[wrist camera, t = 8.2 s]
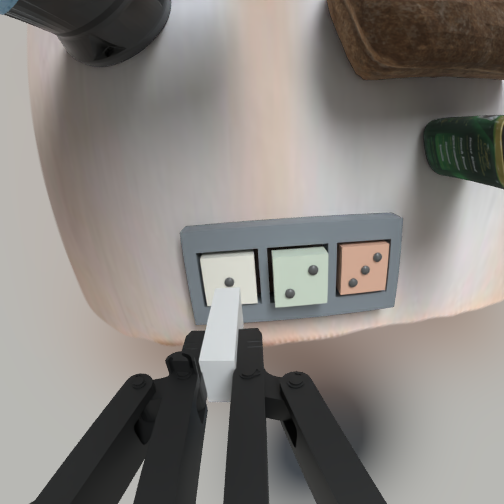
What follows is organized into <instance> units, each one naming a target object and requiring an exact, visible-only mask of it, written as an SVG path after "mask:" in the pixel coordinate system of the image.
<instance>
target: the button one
mask: <svg viewBox="0 0 504 504" xmlns="http://www.w3.org/2000/svg"><path fill="white" fill-rule="evenodd" d="M200 262H201V269H202V276H203V282H204V289H205V295H206V301H207V306H211V304H212V300H213V296H214V292H215V288H236V287H240V293H241V303H242V304H252V303H258V299H257V283H256V271H255V258H254V249H244V250H231V251H217V252H204V253H203V254H202V256H201V258H200Z"/></svg>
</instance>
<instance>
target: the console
mask: <svg viewBox="0 0 504 504" xmlns="http://www.w3.org/2000/svg"><path fill="white" fill-rule="evenodd" d="M402 226H403V218H402V217H400V216H398V215H396V214H394V213H373V214H351V215H332V216H315V217H298V218H283V219H269V220H255V221H242V222H230V223H218V224H206V225H195V226H186V227H185V228H184V229H183V230H182V231H181V232H180V237H181V244H182V250H183V256H184V263H185V269H186V274H187V280H188V286H189V291H190V297H191V302H192V307H193V313H194V318H195V323H196V325H204V324H207V322H208V317H209V313H210V309H211V306H207V301H206V295H205V289H204V282H203V276H202V269H201V262H200V258H201V256H202V254H201V253H204V252H217V251H231V250H244V249H258V258H259V271H260V284H261V293H257V299H258V303H252V304H242V314H243V323H246V322H261V321H275V320H287V319H299V318H309V317H319V316H329V315H337V314H346V313H354V312H362V311H369V310H376V309H383V308H390V307H394V304H395V297H396V290H397V282H398V274H399V264H400V254H401V242H402ZM382 239H383V240H385V241H386V242H387V243H389V254H388V266H387V276H386V286H385V290H379V291H371V292H362V293H354V294H345V295H340V293H339V291H338V290H337V288H336V265H337V243H340V242H354V241H368V240H382ZM312 244H323V247H324V248H325V250H326V251H327V252H328V296H327V303H322V304H312V305H301V306H289V307H277V308H275V301H274V292H270V290H269V274H268V258H267V248H271V247H285V246H299V245H312Z"/></svg>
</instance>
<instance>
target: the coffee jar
mask: <svg viewBox="0 0 504 504" xmlns="http://www.w3.org/2000/svg"><path fill="white" fill-rule="evenodd" d="M424 145H425V152H426V156H427V159H428V162H429V165H430V167H431V168H432V169H433V171H434V172H436V173H438V174H440V175H444V176H449V177H454V178H459V179H464V180H469V181H474V182H478V183H482V184H486V185H490V186H494V187H497V188H501V189H504V115H489V116H488V115H486V116H468V117H450V118H441V119H436V120H433V121H431V122H429V123H428V125H427V126H426V128H425V131H424Z"/></svg>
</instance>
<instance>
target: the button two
mask: <svg viewBox="0 0 504 504" xmlns="http://www.w3.org/2000/svg"><path fill="white" fill-rule="evenodd" d="M271 253H272V270H273V288H274V301H275V308H277V307H289V306H301V305H312V304H322V303H327V296H328V252H327V251H326V250H325V248H324V247H310V248H296V249H282V250H271Z"/></svg>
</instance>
